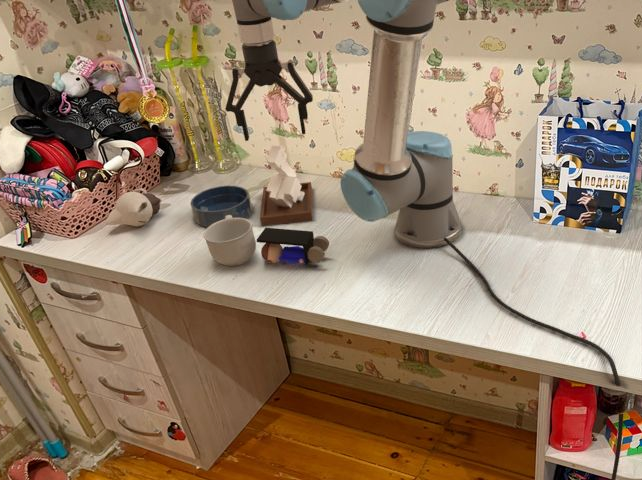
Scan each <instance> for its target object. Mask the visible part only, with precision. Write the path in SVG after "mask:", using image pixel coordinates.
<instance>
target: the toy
mask: <svg viewBox="0 0 642 480" xmlns="http://www.w3.org/2000/svg"><path fill="white" fill-rule="evenodd" d="M141 192H143V193H141ZM162 201H163V198H161V197H158V196H156V195H155V194H153V193H150V192H148V191H147V190H145V189H144V188H142V187H140V188H136V189H134V190H133V191H127V192H124V193H123V194H121V195H120V196H119V197H118V198H117V200H116V202H115V207H114V208H113V209H112V210H111V211H110V213H109V214H108V216H107V218H106V219H105V220H106V221H105V226H116V225H117V226H118V225H128V226H131V227H142V226H144V225H146V224H147V223H148V222H150V220H151V219H152V218H153V216H154V215H156V214H158V213H159V212H160V210H161V203H162Z"/></svg>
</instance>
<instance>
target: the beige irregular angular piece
mask: <svg viewBox="0 0 642 480" xmlns="http://www.w3.org/2000/svg"><path fill="white" fill-rule="evenodd" d="M286 148H287V147H286V146H285V145H280V146H278V145H271V147H270V149H269V151H268V153H267V156H266V163H267V164H268V165H269V166H270V167H271V169H273V170H275V171H276V172H277V173H271V177H270V179H269V181H268V184H267V186H266V187H267V189H266V191H267V192H268V193H269V194H270V196H269V197H270V198H271V199H272V200H273V201H274V202H275V203H276V204H277V205H278V206H282V207H288V208H291V207H292V204H293V202H294V203H296V201H301V202H302V200H303V197H304V194H305V193H304V192H301V191H300V190H301V187H302V186H301V185H300V183H301V181H300V179H299V178H298V177H297V175H298V174H297V172H296V171H295V169H293V167H291V165H290V164H289V163H288V162H287V158H288V154H287V152H286V151H285V150H286Z"/></svg>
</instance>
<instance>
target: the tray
mask: <svg viewBox="0 0 642 480" xmlns="http://www.w3.org/2000/svg"><path fill="white" fill-rule="evenodd" d="M300 185H301V186H302V187H301V190H300V191H301V192H304V193H305V194H304V197H303V200H302V202H301V201H296V203H294V202H293V204H292V207H291V208H288V207H282V206H278V205H277V204H276V203H275V202H274V201H273V200H272V199H271V198H270V197H269V196H270V194H269V193H268V192H267V191H266V189H267V187H268V186H263V190H262V197H261V205H260V214H259V221H260V225H261V227H266V226H277V225H286V224H295V223H303V222H312V221H313V186H312V185H313V184H312V181H309V182H308V181H307V182H300Z"/></svg>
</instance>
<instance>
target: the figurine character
mask: <svg viewBox="0 0 642 480" xmlns="http://www.w3.org/2000/svg"><path fill="white" fill-rule="evenodd" d="M256 243H262V244H263V245H262V247H261V250H260V251H261V257H262V259H263V260H264V261H265V262H266V263H269V264H276V263H279V262H285V263H287V264H303V265H305V266H308V267H319V265H318V264H317V263H321V262H322V261H323V260H324V258H325V256H326V254H325V252H326V251H327V250H328V248H329V247H330V240H329V239H328V238H327V237H326V236H323V235H317V236H316V237H315V235H314V231H313V230H301V229H288V228H276V227H265V228H264V229H263V230H262V231H261V233H260V234H259V235H258V236H257V238H256ZM283 245H284V247H283ZM310 262H312V263H310ZM314 263H315V264H314Z"/></svg>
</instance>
